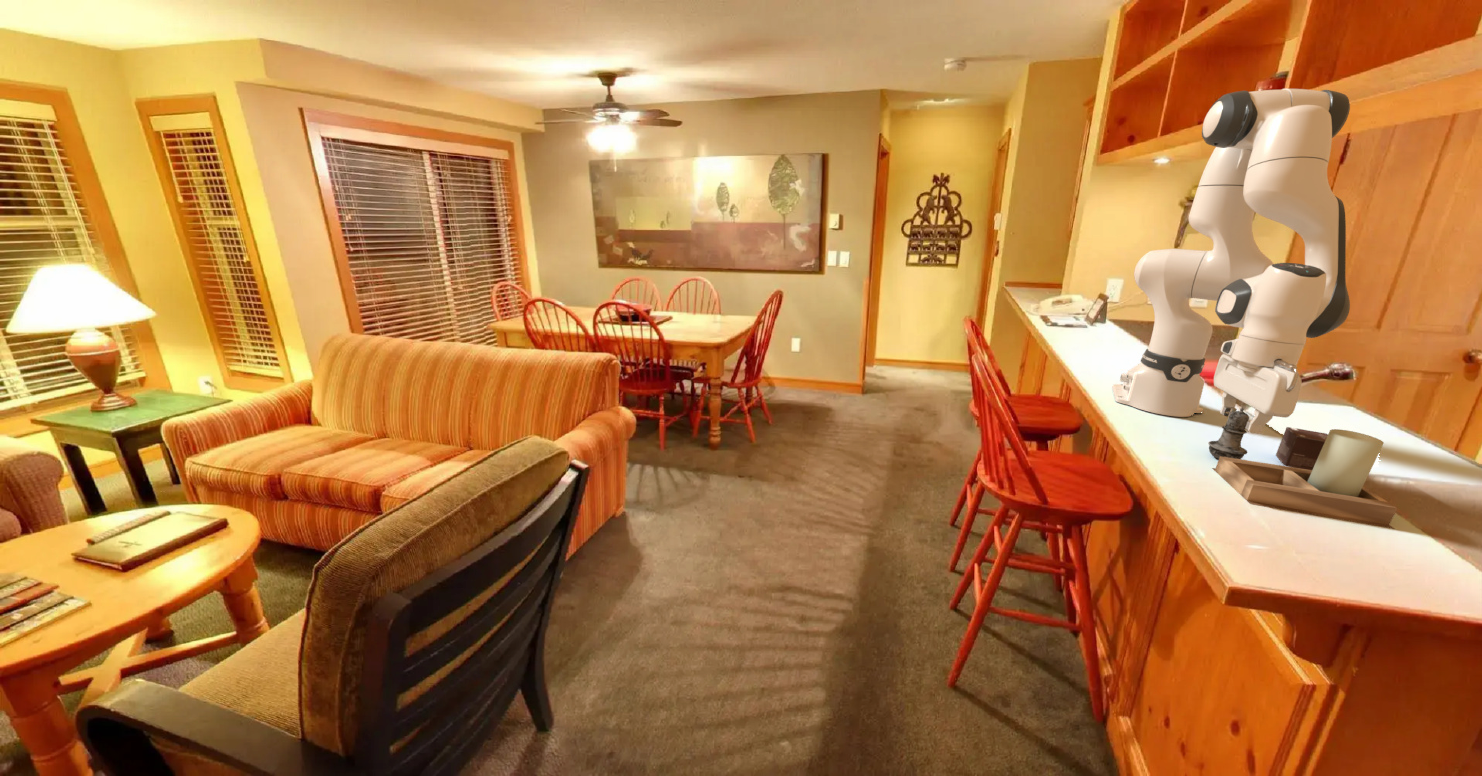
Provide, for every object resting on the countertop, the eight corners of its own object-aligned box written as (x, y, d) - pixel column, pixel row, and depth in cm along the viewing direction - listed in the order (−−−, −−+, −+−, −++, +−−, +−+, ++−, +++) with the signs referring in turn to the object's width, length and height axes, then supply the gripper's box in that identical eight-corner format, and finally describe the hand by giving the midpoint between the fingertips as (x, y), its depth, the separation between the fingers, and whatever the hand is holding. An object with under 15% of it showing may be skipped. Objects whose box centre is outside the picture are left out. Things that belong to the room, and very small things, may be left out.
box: (1324, 479, 101) (1339, 444, 99) (1281, 470, 104) (1295, 435, 102) (1313, 467, 106) (1327, 433, 104) (1272, 458, 109) (1286, 425, 107)
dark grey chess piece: (1248, 472, 103) (1271, 414, 99) (1214, 468, 104) (1235, 411, 100) (1228, 458, 108) (1249, 403, 104) (1196, 455, 109) (1215, 400, 105)
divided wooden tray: (1210, 472, 102) (1217, 453, 100) (1332, 492, 96) (1341, 472, 95) (1248, 509, 89) (1257, 488, 88) (1392, 534, 84) (1403, 512, 82)
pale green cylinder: (1294, 488, 95) (1321, 426, 91) (1337, 495, 93) (1366, 432, 89) (1315, 505, 89) (1345, 440, 85) (1361, 513, 87) (1394, 447, 83)
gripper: (1324, 370, 88) (1292, 446, 92) (1256, 345, 106) (1232, 410, 110) (1277, 364, 89) (1247, 439, 94) (1218, 341, 108) (1195, 404, 112)
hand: (1238, 423), depth 102 cm, fingers open, 8 cm apart
